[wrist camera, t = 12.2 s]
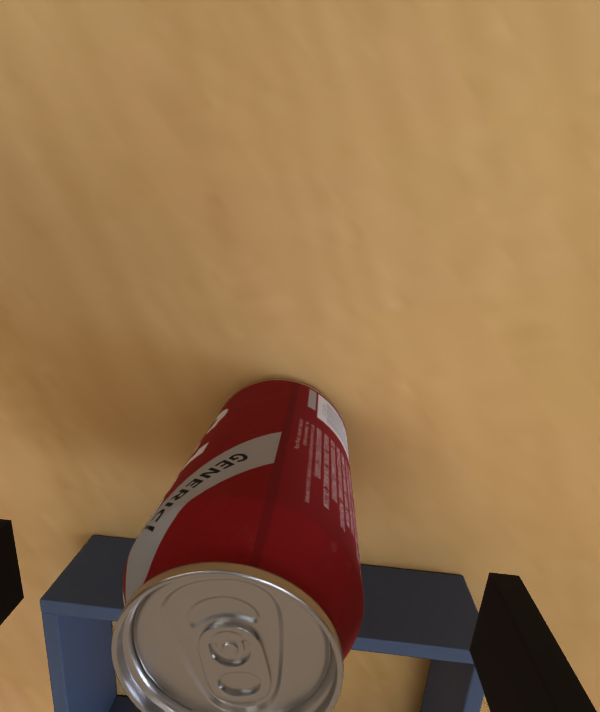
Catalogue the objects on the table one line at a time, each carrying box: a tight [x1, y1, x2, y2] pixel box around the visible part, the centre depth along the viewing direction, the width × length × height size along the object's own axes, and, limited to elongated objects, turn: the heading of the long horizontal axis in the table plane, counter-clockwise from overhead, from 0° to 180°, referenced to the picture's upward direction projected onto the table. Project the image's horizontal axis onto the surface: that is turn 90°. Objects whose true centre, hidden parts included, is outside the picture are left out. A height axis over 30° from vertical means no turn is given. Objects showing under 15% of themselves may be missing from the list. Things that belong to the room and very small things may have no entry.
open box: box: [40, 535, 484, 712], centre depth 22 cm, size 14×22×4 cm, turn 86°
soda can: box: [111, 379, 364, 712], centre depth 15 cm, size 7×7×12 cm
